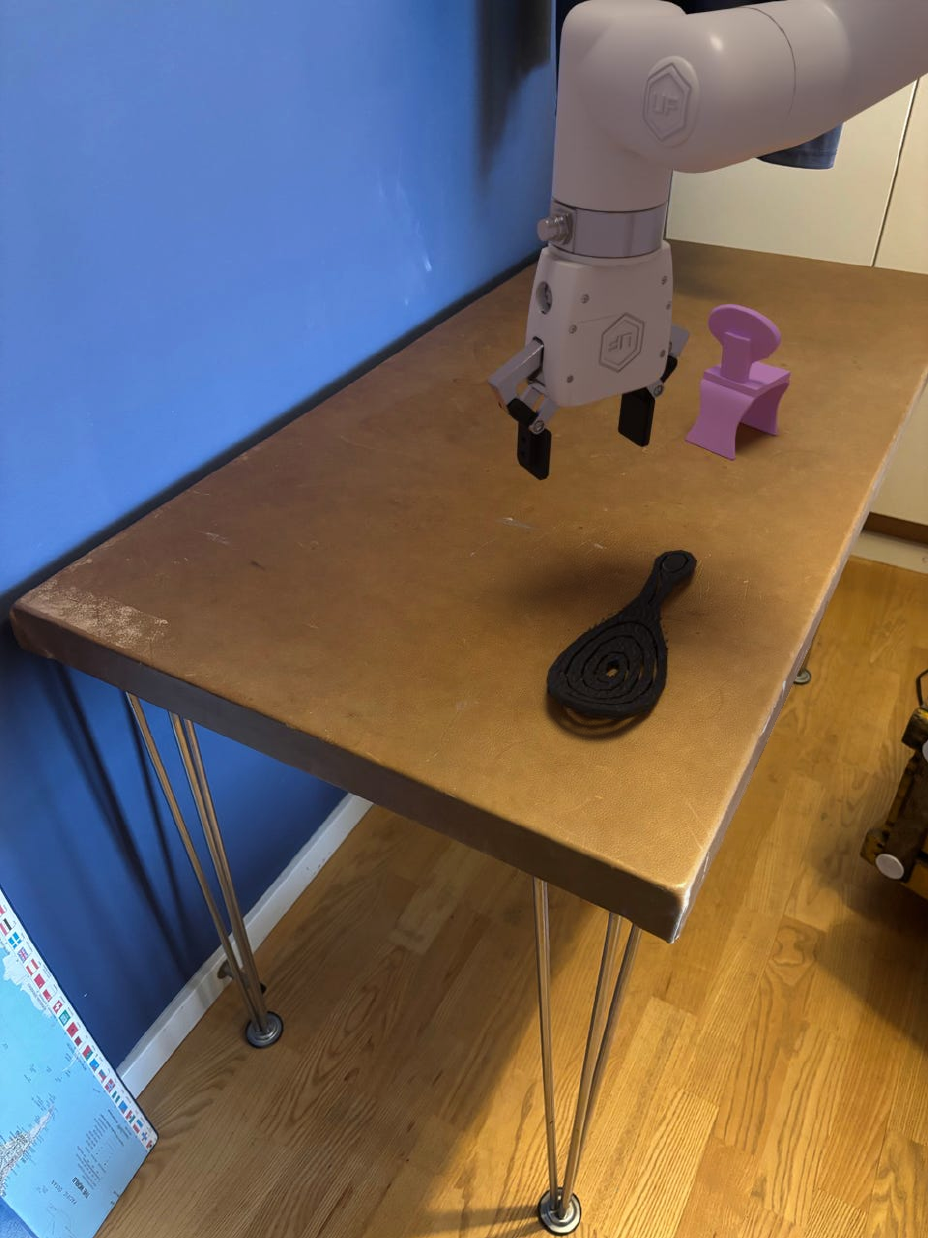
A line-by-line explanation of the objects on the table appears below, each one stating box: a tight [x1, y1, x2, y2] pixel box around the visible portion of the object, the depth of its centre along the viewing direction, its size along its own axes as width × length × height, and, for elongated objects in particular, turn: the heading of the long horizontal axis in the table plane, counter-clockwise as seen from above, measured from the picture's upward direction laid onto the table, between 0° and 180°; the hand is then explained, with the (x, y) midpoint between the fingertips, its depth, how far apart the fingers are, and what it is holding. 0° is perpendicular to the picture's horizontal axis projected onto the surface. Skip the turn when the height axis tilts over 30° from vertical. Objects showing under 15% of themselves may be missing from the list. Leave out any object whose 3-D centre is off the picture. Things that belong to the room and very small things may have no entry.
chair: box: [684, 303, 792, 461], centre depth 95 cm, size 8×9×15 cm
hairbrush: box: [545, 549, 698, 721], centre depth 73 cm, size 8×4×25 cm
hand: (584, 455), depth 71 cm, fingers open, 9 cm apart
